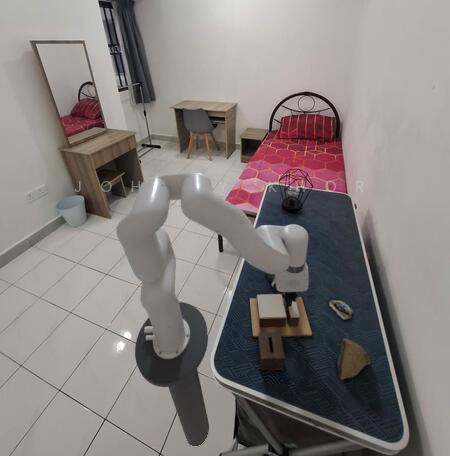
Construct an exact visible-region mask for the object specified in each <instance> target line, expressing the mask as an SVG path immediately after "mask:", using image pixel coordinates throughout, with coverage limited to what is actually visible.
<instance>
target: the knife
mask: <svg viewBox="0 0 450 456" xmlns="http://www.w3.org/2000/svg"><path fill="white" fill-rule="evenodd" d="M287 294H288V299H287V302H285V313H286V319H287V316H288V311H289V306H292V301H293V297H294V292H287Z"/></svg>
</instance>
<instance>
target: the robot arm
mask: <svg viewBox="0 0 450 456" xmlns="http://www.w3.org/2000/svg"><path fill="white" fill-rule="evenodd" d="M176 200H177V201H178V200H180V208H181V209H180V210H181V211H182V213H183V215H184V216H185V217H186V218H187V219H189V220H190V221H192V222H194V223H196V224H198V225H200V226H201V227H203V228H206V229H207V230H210V231H211V232H213V233H215V234H217V235H219V236H221V237H223V238H224V239H225V240H226V241H227V242H228V243H229V245H230V246H231V247H232V248H233V249H234V250H235V251H236V252H237V253H238V254H239V255H240V257H242V259H244V260H245V261H246V262H247V263H248V264H249V265H250V266H252V267H254V268H255V269H257V270H259V271H262V272H263V273H265V274H266V273H269V274H275V279H274V281H273V282H272V283H271V288H272V289H273V290H274V289H275V290H276V291H278V293H279V292H280V293H281V294H282V298H284V300H285V302H287V299H288V294H287V292H294V297H293V302H296V298H297V297H298V295H299V294H300V292H306V291H308V289H309V288H310V286H311V285H310V283H309V282H310V278H309V277H310V276H309V273H310V272H309V265H308V264H307V256H308V255H307V254H308V247H309V246H308V245H309V238H310V237H309V233H308V231H307V230H306V228H305V227H303V226H301V225H299V224H294V223H292V224H287V225H274V224H273V225H272V224H264V225H259V226H258V227H257V228H255V227H254V225H253V223H252V222H251V220H250V218H249V217H248V216H247V214H246V213H245V212H244V211H243V209H241V208H239V207H238V206H236V205H234V204H232V203H231V202H230V201H228V200H226V199H224V198H223V197H221V196H219V194H218V195H217V194H216V193H215V192H214V190H213V185H212V180H211V178H209V176H208V175H206V174H205V173H200V172H178V173H167V174H158V175H153V176H150V177H148V178H145V179H144V180H143V181H142V182H141V184H140V186H139V187H138V190H137V193H136V197H135V199H134V202H133V205H132V208H131V209H130V211H129V212H128V213H127V214H126V215H125V216H124V217H122V219H121V220H120V221H119V222H118V224H117V226H116V236H117V239H118V241H119V243H120V244H121V246H122V249H123V251H124V254H125V257H126V259H127V261H128V263H129V265H130V269H131V270H132V273H133V274H134V276H135V278H136V279H137V280H139V281H140V282H141V288H140V299H139V300H140V304H141V306H142V307H143V309H144V310H145V311H146V313H147V316H148V318H149V319H150V321H151V324H152V327H151V326H145V329H144V333H153V334H154V335H147V336H146V340H153V347H154V350H155V352H156V354H157V355H158V356H159V357H161V358H163V359H173V358H175V357H177V356H179V355H180V354H181V353H182V352H183V351H184V350H185V349H186V347H187V345H188V343H189V340H190V329H189V326H188V324H187V322H186V321H185V320H184V319H182V314H181V310H180V305H179V298H178V296H177V294H176V268H177V261H176V255H175V251H174V248H173V245H172V241H171V238H170V235H169V233H168V232H167V231H166V229H164V228H163V226H164V224H165V223H166V221H167V219H168V215H169V211H170V204H171V201H176ZM187 336H188V337H187ZM160 353H161V354H160Z"/></svg>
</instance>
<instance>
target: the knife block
mask: <svg viewBox="0 0 450 456" xmlns="http://www.w3.org/2000/svg"><path fill="white" fill-rule="evenodd" d="M257 346H258V347H257V348H258V355H259V366H260V371H284V369H285V360H286V356H285V355H286V354H285V351H284V346H283V340H282V337H281V334H280V332H259V333H258V337H257Z"/></svg>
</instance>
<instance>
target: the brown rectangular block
mask: <svg viewBox="0 0 450 456" xmlns="http://www.w3.org/2000/svg"><path fill="white" fill-rule="evenodd" d="M284 306H285V301H284ZM299 318H300V315H299V311H298V308H297V304H296V302H293V301H292V306H289V311H288V316H287V320H288V325H289V327H297V326H298V322H299Z"/></svg>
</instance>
